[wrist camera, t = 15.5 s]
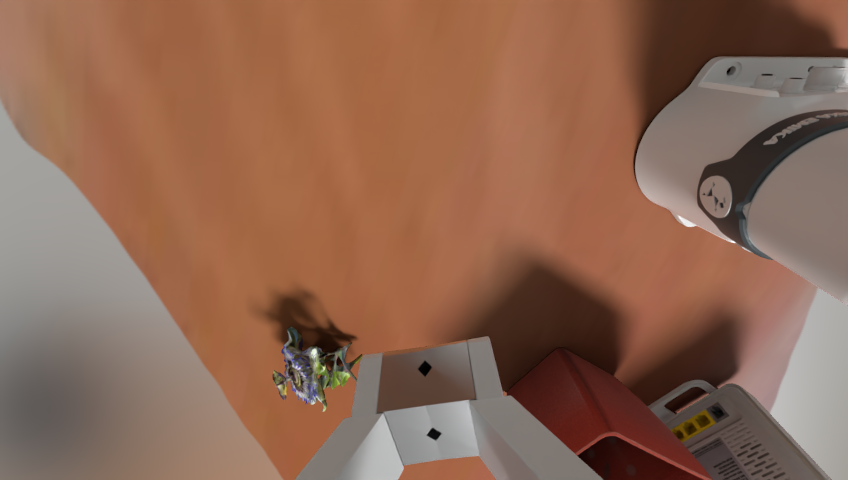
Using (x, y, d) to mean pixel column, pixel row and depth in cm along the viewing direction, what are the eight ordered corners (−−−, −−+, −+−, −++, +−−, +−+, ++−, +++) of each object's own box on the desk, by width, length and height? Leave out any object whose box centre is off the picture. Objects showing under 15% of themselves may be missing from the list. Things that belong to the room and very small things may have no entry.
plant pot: (475, 395, 61) (495, 511, 46) (557, 321, 53) (611, 431, 38) (559, 434, 66) (600, 548, 51) (643, 371, 59) (720, 484, 44)
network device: (619, 458, 70) (687, 598, 53) (590, 442, 68) (650, 584, 50) (745, 385, 61) (878, 526, 43) (716, 362, 58) (845, 504, 40)
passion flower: (308, 317, 59) (261, 328, 47) (373, 319, 57) (340, 331, 45) (306, 390, 58) (257, 419, 46) (372, 395, 56) (338, 427, 44)
